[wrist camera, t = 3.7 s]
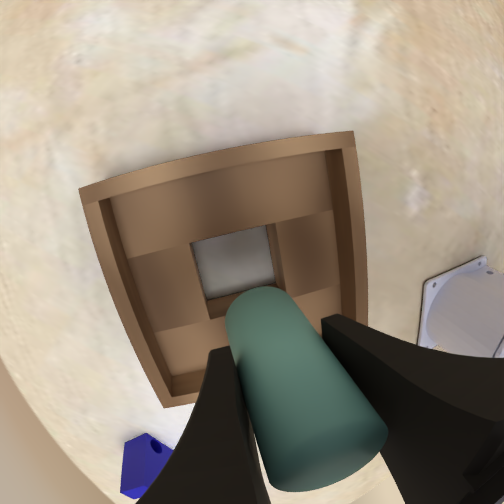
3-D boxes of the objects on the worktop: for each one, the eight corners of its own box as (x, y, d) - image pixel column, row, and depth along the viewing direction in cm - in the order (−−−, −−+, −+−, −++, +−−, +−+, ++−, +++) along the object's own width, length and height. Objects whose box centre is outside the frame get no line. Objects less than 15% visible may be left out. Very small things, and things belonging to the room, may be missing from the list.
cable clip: (237, 474, 26) (248, 517, 20) (205, 486, 26) (212, 528, 20) (158, 425, 22) (157, 481, 16) (124, 441, 22) (120, 492, 16)
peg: (290, 277, 12) (394, 398, 5) (301, 337, 13) (381, 461, 6) (215, 299, 11) (255, 453, 5) (235, 358, 12) (279, 501, 6)
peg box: (316, 135, 17) (353, 130, 13) (337, 318, 22) (367, 350, 17) (104, 181, 16) (78, 188, 11) (165, 364, 20) (163, 408, 16)
